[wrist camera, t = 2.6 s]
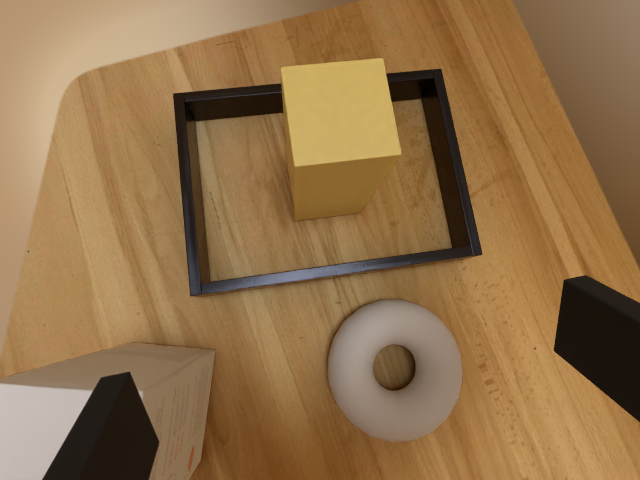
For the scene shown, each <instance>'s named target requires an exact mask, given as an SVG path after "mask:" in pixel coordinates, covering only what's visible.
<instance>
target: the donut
mask: <svg viewBox="0 0 640 480" xmlns="http://www.w3.org/2000/svg"><path fill="white" fill-rule="evenodd" d="M391 344H398V345H401V346H404V347H405V348H407V349H408V350H409V351H410V352H411V353H412V354H413V357H414V360H415V366H416V370H415V374H414V377H413V379H412V381H411V382H410V384H408V385H407V386H406V387H405V388H403V389H400V390H395V391H390V390H387V389H385V388H383V387H382V386H381V385H380V384H379V383H378V382H377V380H376V379H375V376H374V374H373V364H374V360H375V357H376V356H377V354H378V352H379V351H380V350H381V349H383V348H384V347H385V346H388V345H391ZM462 380H463V371H462V360H461V354H460V351H459V349H458V346H457V344H456V341H455V339H454V336H453V334H452V333H451V332H450V330H449V329H448V328H447V327H446V325H445V324H444V323H443V322H442V320H441V319H440V318H439V317H437V316H436V315H435V314H433V313H432V312H430V311H429V310H427V309H426V308H424V307H423V306H421V305H419V304H415V303H412V302H409V301H405V300H402V299H389V300H378V301H376V302H373V303H370V304H368V305H365V306H362V307H361V308H359V309H358V310H357V311H356V312H354V313H353V314H352V315H351V316H349V317H348V318H347V319H346V320H345V321H344V323H343V324H342V326H341V327H340V329H339V330H338V332H337V333H336V335H335V336H334V338H333V342H332V345H331V349H330V352H329V356H328V382H329V385H330V388H331V391H332V394H333V397H334V399H335V402H336V404H337V406H338V407H339V408H340V410H341V411H342V412H343V414H344V415H345V416H346V418H347V419H348V420H349V422H351V423H352V424H353V425H355V426H356V427H358V428H359V429H360V430H362V431H363V432H365V433H366V434H367V435H369V436H371V437H375V438H378V439H381V440H385V441H388V442H402V441H413V440H415V439H418V438H420V437H422V436H425V435H427V434H430V433H432V432H433V431H434V430H435V429H436V428H437V427H438V426H440V425H441V424H442V423H443V422H444V421H445V420H446V419H447V418H448V417H449V415H450V413H451V412H452V410H453V408H454V406H455V404H456V403H457V401H458V399H459V394H460V389H461V384H462Z"/></svg>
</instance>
